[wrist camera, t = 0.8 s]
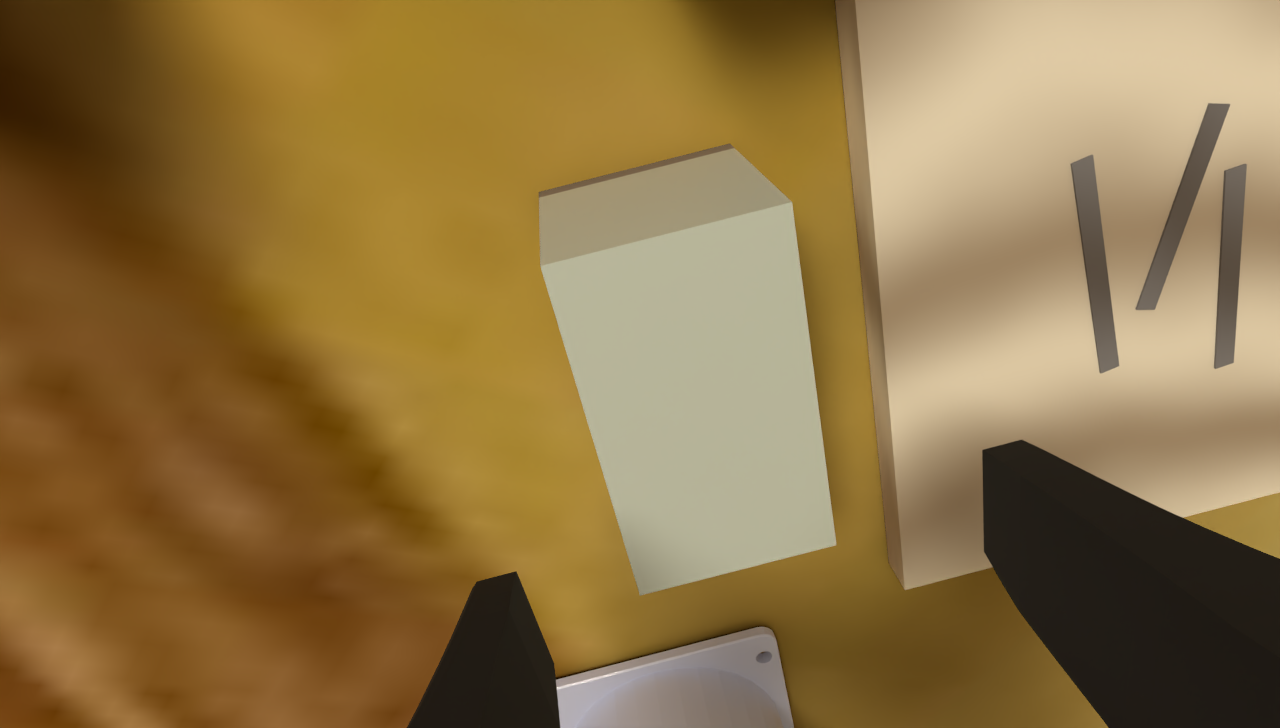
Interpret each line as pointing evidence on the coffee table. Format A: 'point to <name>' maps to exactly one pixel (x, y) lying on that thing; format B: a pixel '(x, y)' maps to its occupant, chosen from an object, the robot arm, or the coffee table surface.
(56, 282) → the coffee table surface
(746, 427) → the block
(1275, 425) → the birch board
